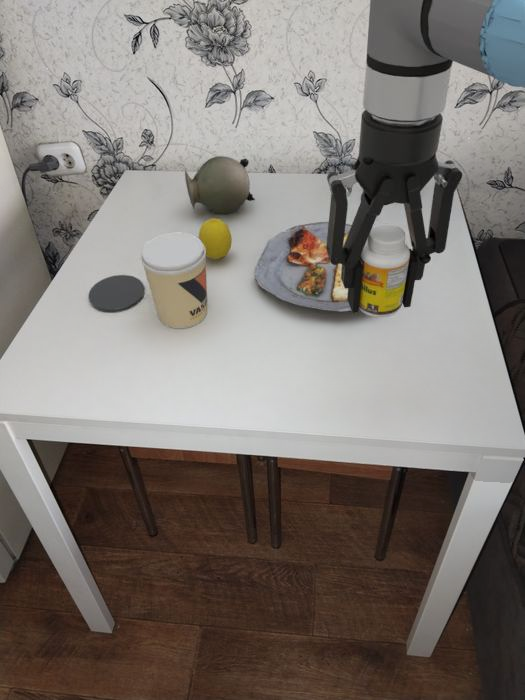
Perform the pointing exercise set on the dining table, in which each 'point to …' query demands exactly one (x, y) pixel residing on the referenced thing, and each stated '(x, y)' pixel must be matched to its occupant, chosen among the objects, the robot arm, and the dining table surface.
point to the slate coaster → (116, 293)
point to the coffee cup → (177, 278)
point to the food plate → (303, 268)
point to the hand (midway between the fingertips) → (378, 302)
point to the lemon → (215, 238)
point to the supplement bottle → (384, 270)
